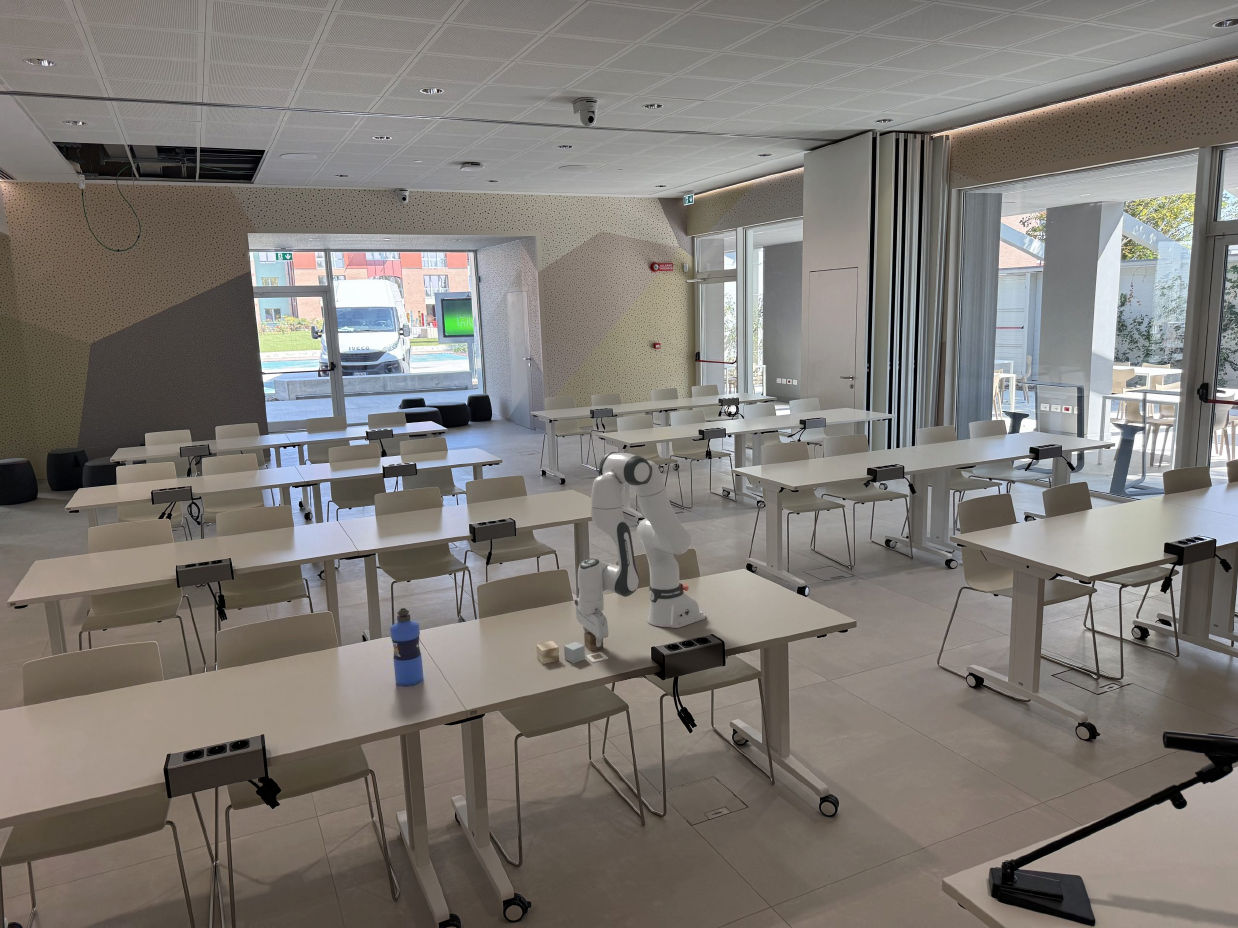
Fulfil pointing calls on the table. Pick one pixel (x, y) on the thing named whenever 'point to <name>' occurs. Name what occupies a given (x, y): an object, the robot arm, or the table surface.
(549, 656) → the maple base
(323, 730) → the table surface
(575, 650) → the grey block
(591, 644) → the walnut block
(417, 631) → the water bottle
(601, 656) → the swatch
